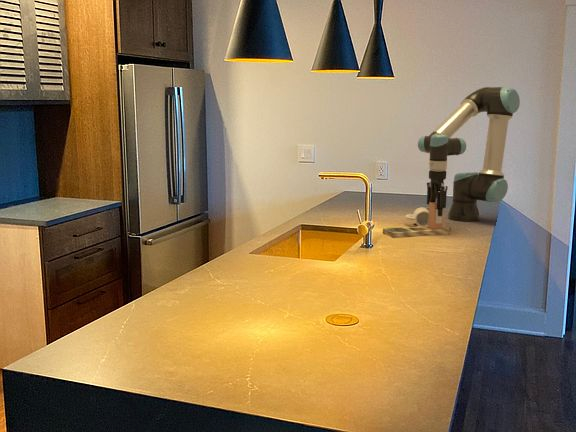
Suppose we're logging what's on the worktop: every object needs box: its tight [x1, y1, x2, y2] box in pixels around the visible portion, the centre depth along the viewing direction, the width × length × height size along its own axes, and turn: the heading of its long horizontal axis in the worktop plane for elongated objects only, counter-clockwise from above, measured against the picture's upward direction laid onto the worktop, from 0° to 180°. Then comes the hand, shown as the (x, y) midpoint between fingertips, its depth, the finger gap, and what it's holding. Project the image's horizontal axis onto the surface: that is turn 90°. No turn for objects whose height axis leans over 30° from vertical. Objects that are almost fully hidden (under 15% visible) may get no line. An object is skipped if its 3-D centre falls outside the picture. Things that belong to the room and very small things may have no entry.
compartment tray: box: [382, 225, 451, 239], centre depth 290 cm, size 28×10×2 cm, turn 109°
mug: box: [405, 206, 429, 226], centre depth 307 cm, size 12×10×8 cm
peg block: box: [428, 201, 444, 230], centre depth 292 cm, size 4×4×12 cm
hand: (435, 221), depth 292 cm, fingers closed on peg block, 4 cm apart
